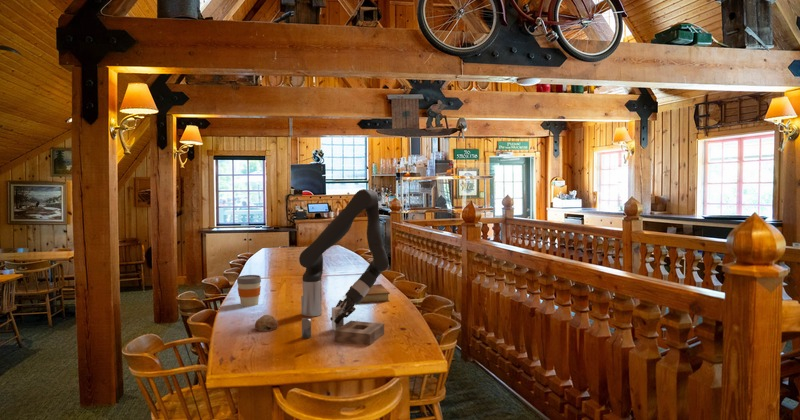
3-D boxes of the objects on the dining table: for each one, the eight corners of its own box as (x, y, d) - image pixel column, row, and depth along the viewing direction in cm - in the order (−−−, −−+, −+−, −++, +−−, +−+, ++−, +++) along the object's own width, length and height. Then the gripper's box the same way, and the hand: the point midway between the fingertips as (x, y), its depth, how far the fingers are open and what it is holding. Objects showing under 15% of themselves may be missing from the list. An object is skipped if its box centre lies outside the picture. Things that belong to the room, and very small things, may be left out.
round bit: (300, 338, 221) (299, 319, 221) (304, 335, 225) (304, 317, 225) (308, 339, 220) (308, 320, 220) (312, 336, 224) (312, 318, 223)
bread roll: (256, 339, 232) (258, 325, 228) (252, 324, 240) (253, 311, 236) (278, 336, 236) (280, 322, 233) (273, 322, 244) (275, 308, 241)
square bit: (332, 329, 234) (331, 307, 233) (340, 328, 236) (339, 306, 235) (335, 331, 230) (335, 309, 230) (343, 330, 232) (343, 308, 232)
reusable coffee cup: (257, 307, 275) (257, 279, 274) (234, 307, 276) (233, 279, 275) (264, 301, 288) (263, 274, 287) (241, 301, 288) (241, 274, 287)
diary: (349, 295, 304) (349, 285, 304) (380, 293, 309) (380, 284, 308) (356, 304, 282) (355, 294, 281) (389, 302, 286) (389, 292, 286)
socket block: (334, 341, 217) (334, 330, 217) (350, 330, 232) (350, 320, 232) (370, 345, 212) (370, 334, 211) (384, 333, 227) (384, 323, 226)
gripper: (345, 284, 242) (321, 313, 236) (359, 289, 230) (334, 320, 224) (356, 293, 245) (332, 323, 239) (370, 299, 233) (345, 330, 227)
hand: (333, 321), depth 232 cm, fingers closed on square bit, 4 cm apart
